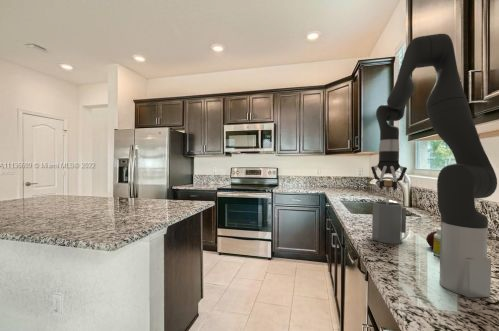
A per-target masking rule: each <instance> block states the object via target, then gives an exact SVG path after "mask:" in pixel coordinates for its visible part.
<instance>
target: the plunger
mask: <svg viewBox="0 0 499 331" xmlns="http://www.w3.org/2000/svg"><path fill="white" fill-rule="evenodd" d="M393 182H394V179H383V188H386V189H385V200H386V205H389V200H390V188H393Z"/></svg>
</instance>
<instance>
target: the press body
mask: <svg viewBox="0 0 499 331" xmlns="http://www.w3.org/2000/svg"><path fill="white" fill-rule="evenodd" d="M371 222H372V226H371V228H372V229H371V232H372V233H371V236H372V240H374V241H376V242H378V243H383V244H388V245H401V244H402V243H403V234H405V233H406V227H407V226H406V225H407V207H404V204H402V203H400V202H399V203H394V202H389V205H386V202H385V201H384V200H383V201H381V200H380V201H376V200H375V201H373V202H372V221H371Z"/></svg>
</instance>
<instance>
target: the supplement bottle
mask: <svg viewBox="0 0 499 331" xmlns="http://www.w3.org/2000/svg"><path fill="white" fill-rule="evenodd" d="M435 231H436V232H437V233H436V234H434V248H432V250H433V252H432V253H433V254H434V255H435V256H436V257H439V258H440V244H441V227H436V230H435Z"/></svg>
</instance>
